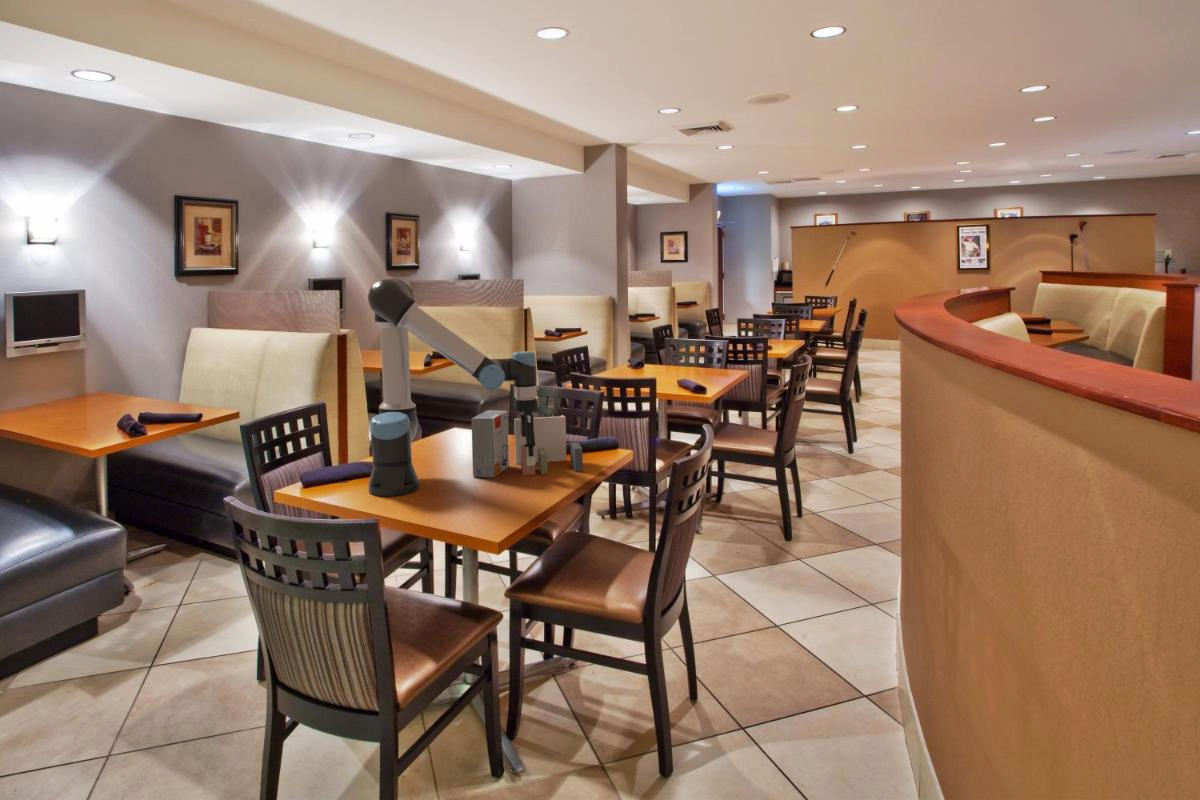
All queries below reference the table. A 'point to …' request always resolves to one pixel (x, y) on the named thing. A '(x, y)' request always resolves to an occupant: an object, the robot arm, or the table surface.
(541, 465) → the divider book
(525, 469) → the book
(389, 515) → the table surface
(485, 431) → the hard drive box
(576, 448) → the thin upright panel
